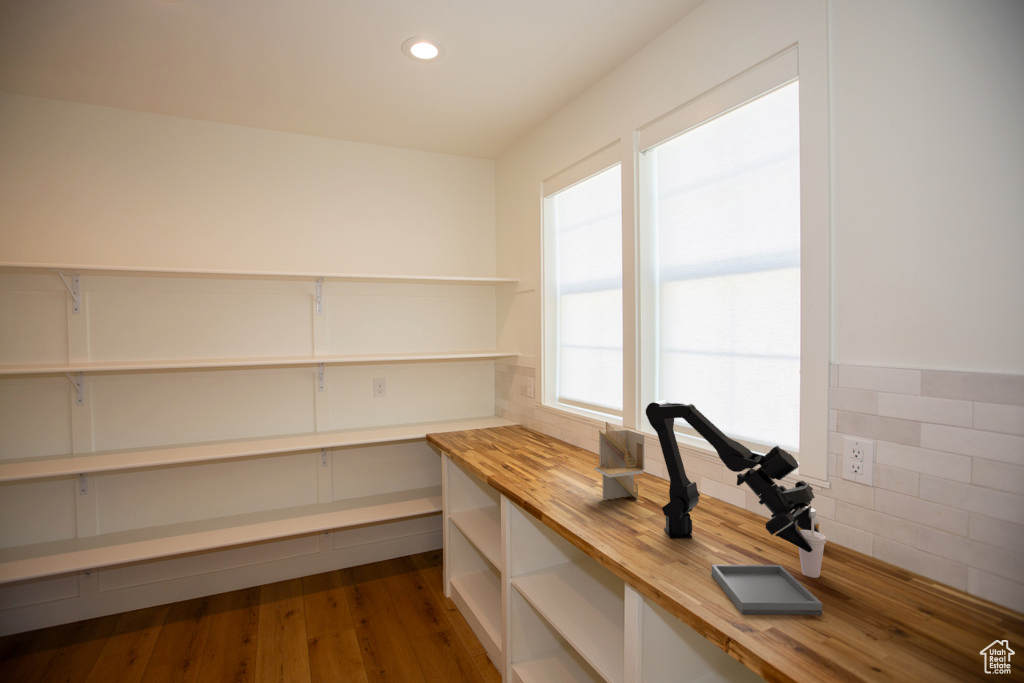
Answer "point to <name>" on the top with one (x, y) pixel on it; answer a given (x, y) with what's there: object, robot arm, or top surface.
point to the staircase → (620, 461)
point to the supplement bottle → (816, 521)
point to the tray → (765, 590)
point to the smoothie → (812, 552)
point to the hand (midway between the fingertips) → (816, 545)
